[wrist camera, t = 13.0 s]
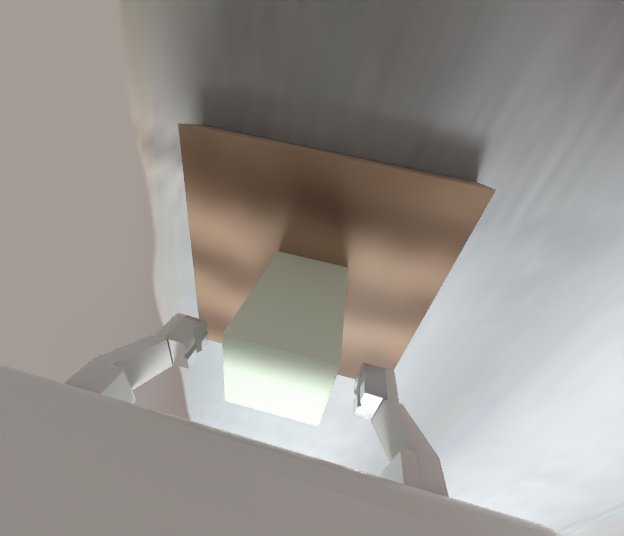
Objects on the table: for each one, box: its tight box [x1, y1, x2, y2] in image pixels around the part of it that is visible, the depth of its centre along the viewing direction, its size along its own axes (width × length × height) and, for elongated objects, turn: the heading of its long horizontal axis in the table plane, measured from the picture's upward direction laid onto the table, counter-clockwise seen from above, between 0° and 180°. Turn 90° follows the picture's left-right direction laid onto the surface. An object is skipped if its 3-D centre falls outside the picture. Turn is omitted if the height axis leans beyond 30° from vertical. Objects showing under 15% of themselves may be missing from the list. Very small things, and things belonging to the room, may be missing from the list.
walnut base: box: [178, 124, 495, 379], centre depth 19 cm, size 18×18×3 cm
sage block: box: [222, 251, 348, 426], centre depth 14 cm, size 5×5×8 cm
